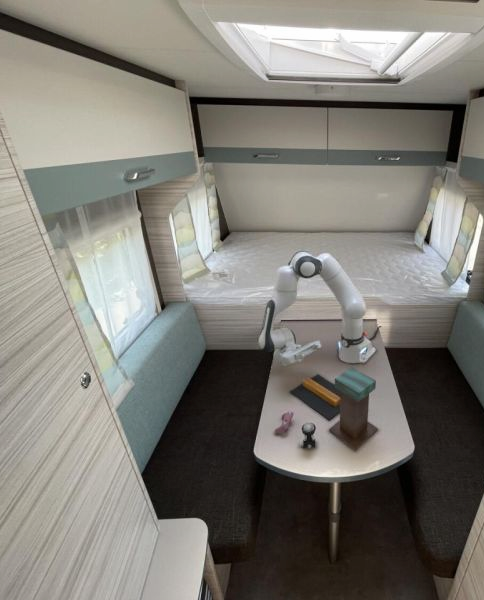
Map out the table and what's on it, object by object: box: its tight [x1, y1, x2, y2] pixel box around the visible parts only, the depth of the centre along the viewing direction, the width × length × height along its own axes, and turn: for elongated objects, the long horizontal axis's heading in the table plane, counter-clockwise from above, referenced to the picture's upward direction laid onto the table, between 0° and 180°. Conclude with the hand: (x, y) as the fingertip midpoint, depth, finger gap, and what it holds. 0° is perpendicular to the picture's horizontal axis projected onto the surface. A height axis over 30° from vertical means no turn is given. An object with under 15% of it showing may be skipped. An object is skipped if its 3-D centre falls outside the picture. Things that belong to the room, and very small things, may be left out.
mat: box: [290, 374, 340, 421], centre depth 153 cm, size 18×26×1 cm
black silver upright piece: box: [298, 422, 317, 449], centre depth 125 cm, size 7×5×10 cm
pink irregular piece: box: [274, 410, 295, 435], centre depth 134 cm, size 10×5×7 cm, turn 168°
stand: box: [329, 366, 378, 452], centre depth 128 cm, size 14×14×26 cm
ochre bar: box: [302, 377, 340, 407], centre depth 152 cm, size 4×22×3 cm, turn 47°
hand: (311, 350), depth 148 cm, fingers open, 8 cm apart
